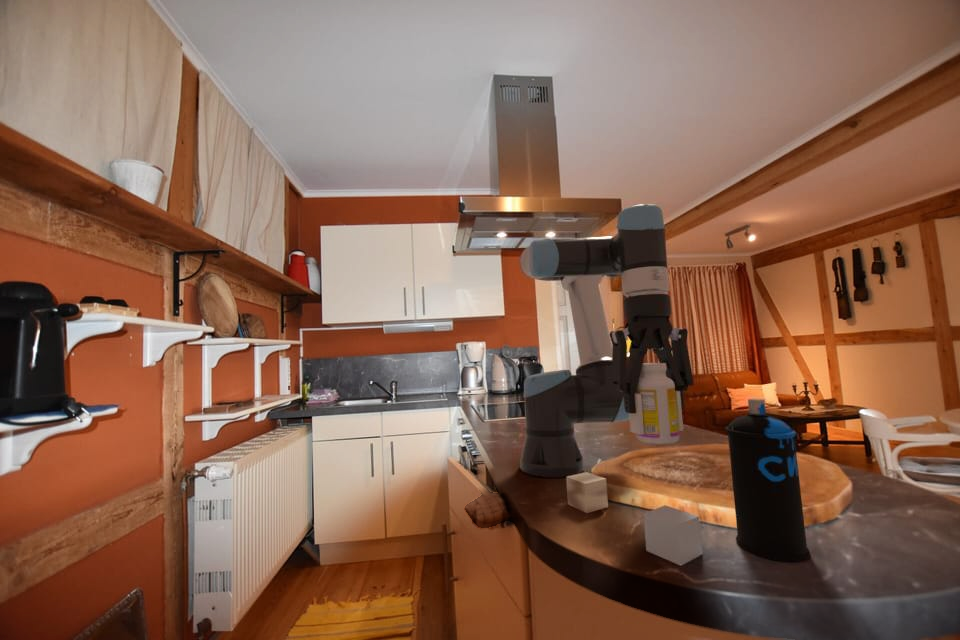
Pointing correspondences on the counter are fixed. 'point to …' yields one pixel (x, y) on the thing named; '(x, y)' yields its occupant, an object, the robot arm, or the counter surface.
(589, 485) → the birch block
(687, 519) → the grey block
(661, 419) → the supplement bottle
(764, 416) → the aerosol can
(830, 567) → the counter surface
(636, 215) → the robot arm
